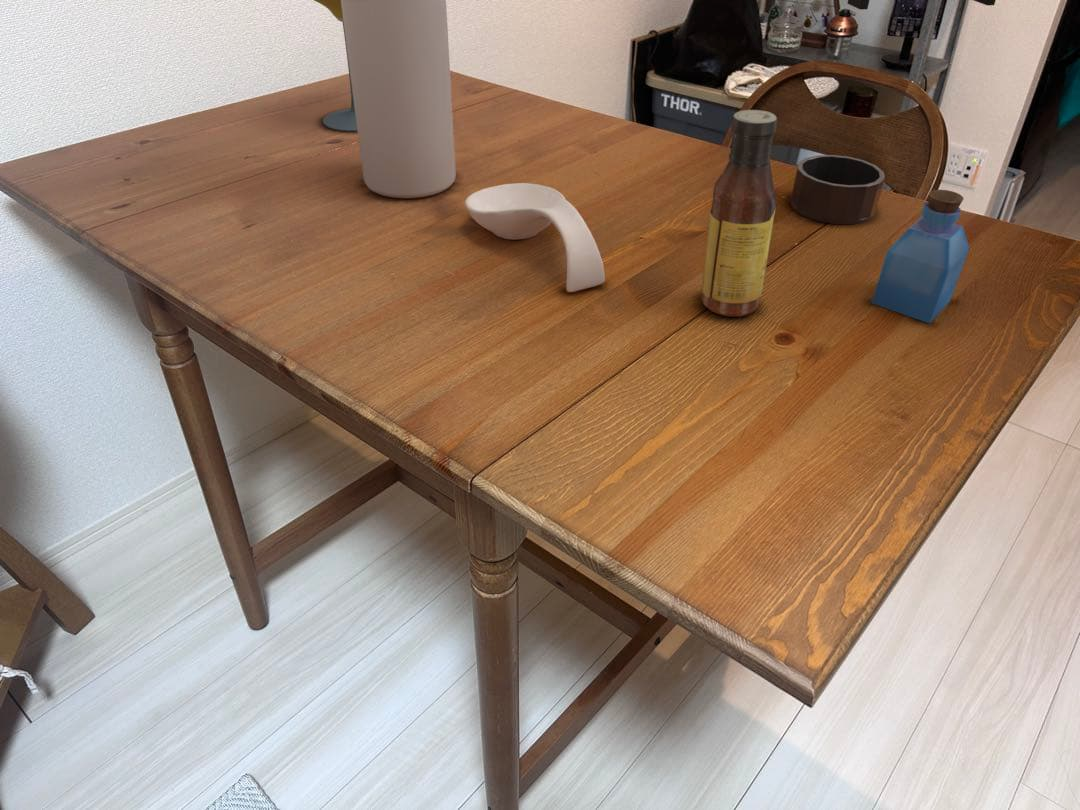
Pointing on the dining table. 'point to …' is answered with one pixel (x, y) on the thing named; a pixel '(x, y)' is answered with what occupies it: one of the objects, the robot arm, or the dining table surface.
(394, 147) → the cylinder vase
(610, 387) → the dining table surface
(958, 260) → the perfume bottle
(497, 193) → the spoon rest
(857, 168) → the dark brown round bowl
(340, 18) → the cocktail glass
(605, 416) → the dining table surface
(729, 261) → the sauce bottle
